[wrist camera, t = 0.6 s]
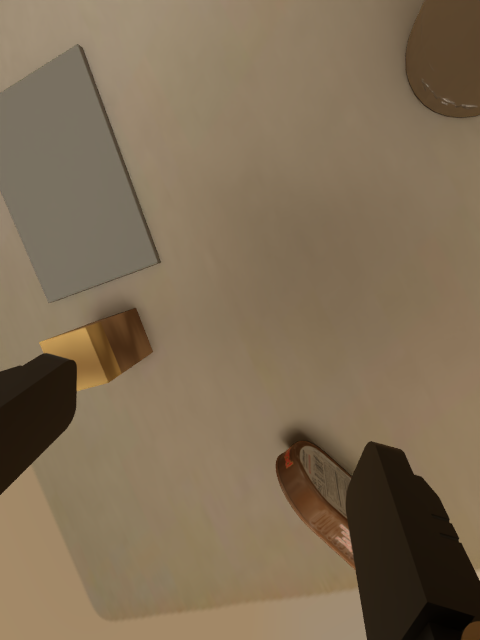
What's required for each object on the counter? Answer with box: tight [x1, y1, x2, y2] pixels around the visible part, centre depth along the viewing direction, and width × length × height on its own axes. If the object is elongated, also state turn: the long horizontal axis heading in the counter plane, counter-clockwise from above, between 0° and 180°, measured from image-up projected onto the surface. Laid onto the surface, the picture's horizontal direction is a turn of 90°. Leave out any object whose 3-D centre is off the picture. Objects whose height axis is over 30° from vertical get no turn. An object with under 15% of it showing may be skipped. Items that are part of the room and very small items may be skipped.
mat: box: [0, 44, 161, 303], centre depth 33 cm, size 20×14×1 cm
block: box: [39, 308, 153, 391], centre depth 32 cm, size 5×5×8 cm
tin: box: [276, 441, 356, 570], centre depth 30 cm, size 15×3×8 cm, turn 50°
